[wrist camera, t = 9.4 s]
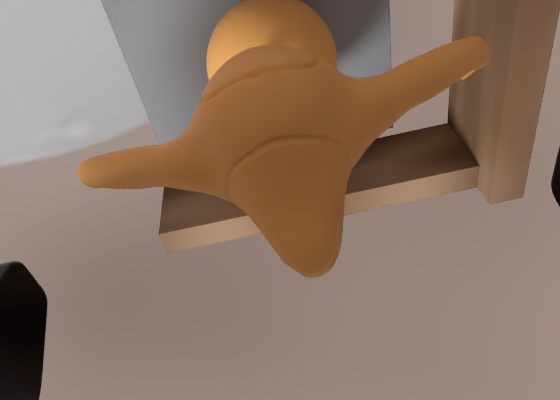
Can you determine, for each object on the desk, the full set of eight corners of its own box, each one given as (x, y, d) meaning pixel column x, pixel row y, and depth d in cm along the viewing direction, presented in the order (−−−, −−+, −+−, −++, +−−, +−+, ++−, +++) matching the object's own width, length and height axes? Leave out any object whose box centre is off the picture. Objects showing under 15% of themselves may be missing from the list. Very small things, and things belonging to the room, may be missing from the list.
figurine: (175, 125, 18) (143, 464, 9) (90, -44, 14) (-126, 243, 5) (393, 55, 17) (608, 344, 8) (365, -144, 13) (714, -24, 4)
